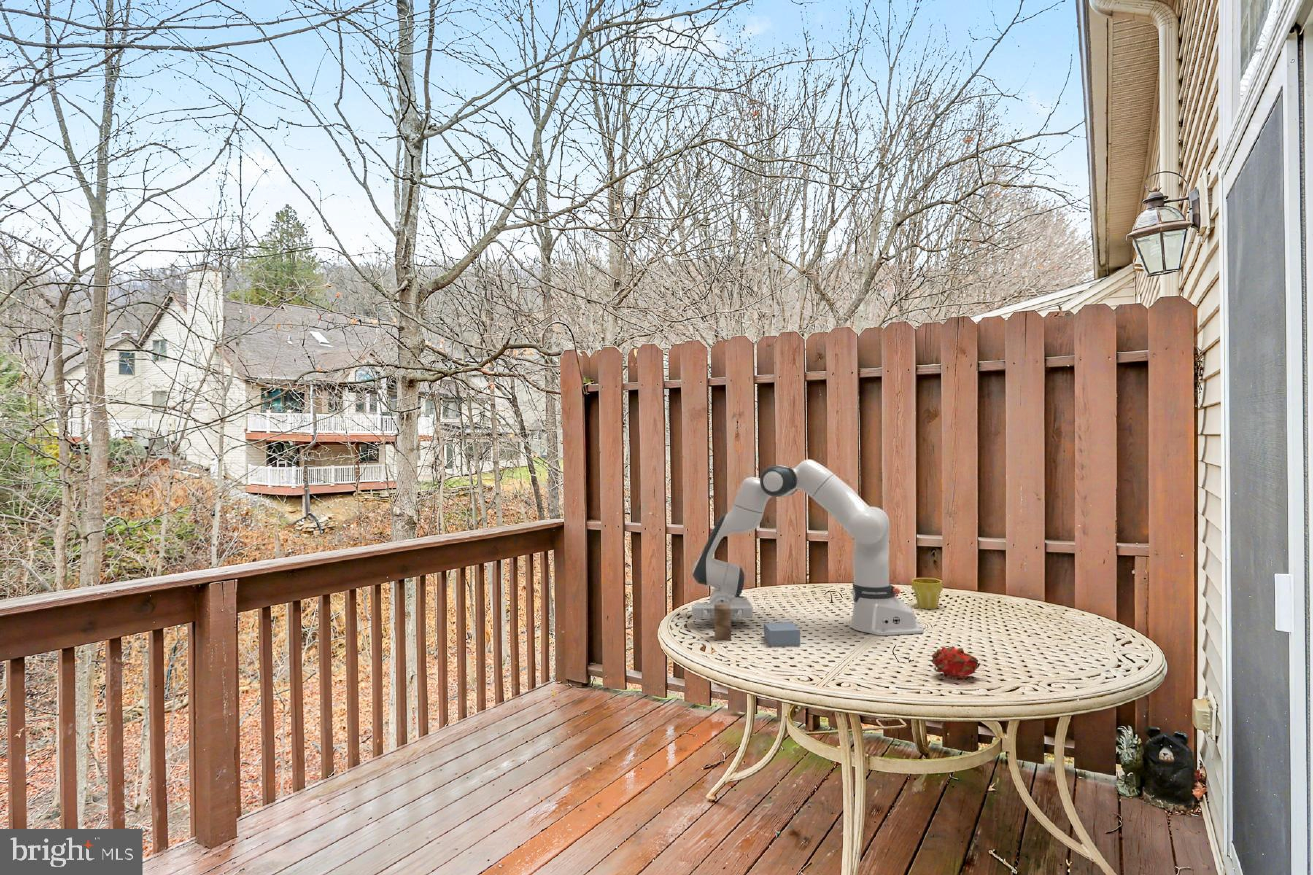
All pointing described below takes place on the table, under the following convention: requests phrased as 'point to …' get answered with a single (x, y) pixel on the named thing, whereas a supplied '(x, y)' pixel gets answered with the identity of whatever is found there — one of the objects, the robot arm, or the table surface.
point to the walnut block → (722, 622)
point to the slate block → (782, 634)
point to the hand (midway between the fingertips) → (722, 616)
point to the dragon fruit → (954, 662)
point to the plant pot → (927, 592)
